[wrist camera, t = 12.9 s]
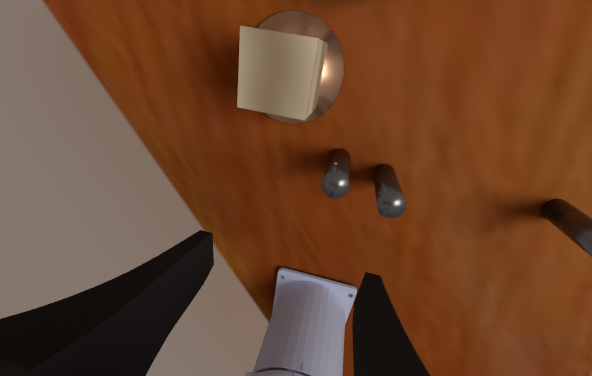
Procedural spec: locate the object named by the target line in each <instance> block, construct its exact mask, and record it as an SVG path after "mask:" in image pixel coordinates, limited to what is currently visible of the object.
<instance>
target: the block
mask: <svg viewBox="0 0 592 376" xmlns="http://www.w3.org/2000/svg"><path fill="white" fill-rule="evenodd" d="M326 49H327V43H326V42H324V41H322V40H320V39H319V38H314V37H308V36H301V35H295V34H289V33H283V32H276V31H270V30H264V29H257V28H251V27H245V26H240V44H239V72H238V101H237V107H239V108H244V109H249V110H254V111H259V112H264V113H269V114H274V115H279V116H284V117H289V118H294V119H299V120H304V121H305V120H306V119H307V117H308V116H309V115H310V114H311V113H312V112H313V110H314V109H315V108H316V105H317V99H318V94H319V88H320V83H321V77H322V71H323V66H324V60H325V55H326Z"/></svg>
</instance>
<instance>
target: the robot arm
mask: <svg viewBox="0 0 592 376" xmlns="http://www.w3.org/2000/svg"><path fill="white" fill-rule="evenodd" d="M213 265H214V260H213V236H212V233H210V232H206V231H202V230H200V231H198V232H197V233H195V234H193V235H192V236H190V237H188V238H187V239H185V240H184V241H182V242H180V243H179V244H177V245H175V246H174V247H172V248H170V249H169V250H167V251H165V252H163V253H162V254H160V255H159V256H157V257H155V258H153V259H151V260H150V261H148V262H146V263H144V264H142V265H140V266H138V267H137V268H135V269H133V270H131V271H129V272H127V273H125V274H123V275H121V276H118V277H116V278H114V279H112V280H110V281H107V282H105V283H103V284H101V285H98V286H96V287H94V288H91V289H88V290H86V291H83V292H81V293H78V294H76V295H73V296H70V297H68V298H65V299H62V300H59V301H57V302H54V303H51V304H48V305H45V306H42V307H39V308H36V309H33V310H30V311H26V312H23V313H20V314H16V315H13V316H9V317H6V318H2V319H0V376H145V375H146V374H147V372H148V370H149V368H150V366H151V364H152V363H153V361H154V359H155V357H156V355H157V354H158V352H159V350H160V349H161V347H162V345H163V343H164V342H165V340H166V338H167V337H168V335H169V333H170V332H171V330H172V329H173V327H174V326H175V324H176V323H177V321H178V320H179V318H180V317H181V316H182V314H183V313H184V311H185V310H186V308H187V307H188V306H189V304H190V303H191V301H192V300H193V298H194V297H195V296H196V294H197V293H198V291H199V290H200V288H201V287H202V285H203V284H204V281H205V280H206V278H207V276H208V275H209V272H210V270H211V269H212V267H213ZM281 275H282V276H281ZM356 293H357V289H356V288H355V287H354V286H351V285H347V284H343V283H340V282H336V281H332V280H328V279H325V278H321V277H317V276H313V275H309V274H306V273H302V272H298V271H294V270H291V269H287V268H280V269H279V271H278V275H277V282H276V289H275V296H274V303H273V311H272V316H271V319H270V322H269V325H268V328H267V331H266V334H265V337H264V340H263V343H262V346H261V349H260V352H259V355H258V358H257V361H256V364H255V367H254V370H253V373H252V372H246V373H245V376H342V372H343V350H344V328H345V324H346V321H347V318H348V315H349V313H350V310H351V307H352V304H353V302H354V299H355V296H356ZM352 327H353V359H354V376H430V374H429V373H428V371H427V370H426V368H425V366H424V365H423V363H422V361H421V359H420V358H419V356H418V354H417V352H416V351H415V349H414V347H413V345H412V343H411V342H410V340H409V338H408V336H407V334H406V332H405V330H404V328H403V326H402V324H401V322H400V320H399V318H398V316H397V314H396V312H395V309H394V307H393V305H392V303H391V300H390V298H389V296H388V293H387V291H386V288H385V286H384V283H383V281H382V278H381V277H380V276H379V275H375V274H371V273H367V272H366V273H365V275H364V278H363V280H362V283H361V286H360V288H359V291H358V294H357V296H356V299H355V302H354V311H353V325H352Z"/></svg>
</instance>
